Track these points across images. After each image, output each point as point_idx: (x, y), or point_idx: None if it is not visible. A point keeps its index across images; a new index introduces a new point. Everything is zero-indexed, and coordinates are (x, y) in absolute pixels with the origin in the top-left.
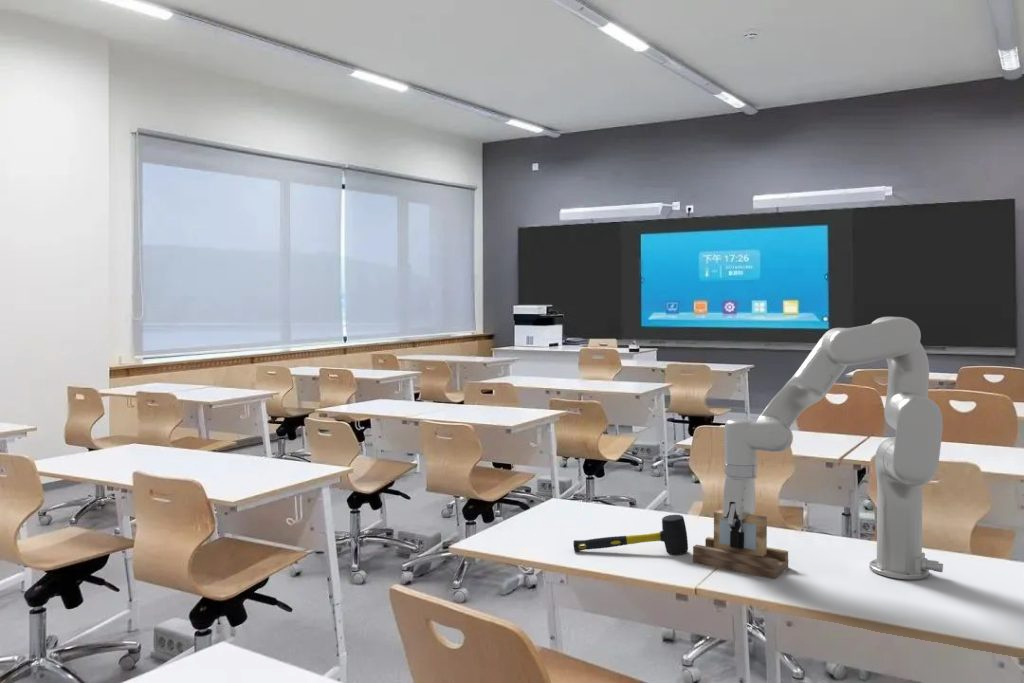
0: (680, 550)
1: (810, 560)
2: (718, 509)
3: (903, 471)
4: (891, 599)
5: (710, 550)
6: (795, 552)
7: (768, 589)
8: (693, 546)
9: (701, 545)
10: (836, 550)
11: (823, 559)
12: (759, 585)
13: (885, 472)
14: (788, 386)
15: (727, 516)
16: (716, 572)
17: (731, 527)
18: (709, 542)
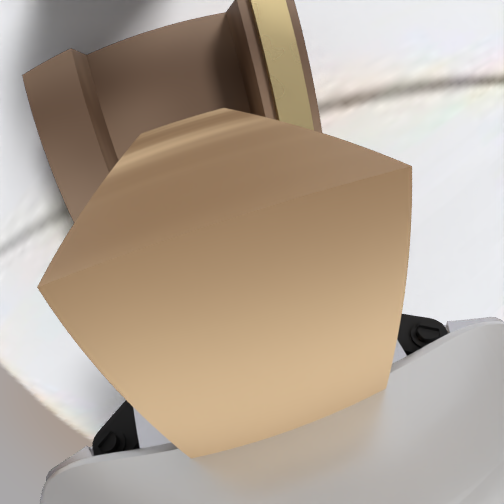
0: None
1: (408, 310)
2: (405, 165)
3: None
4: None
5: (59, 185)
6: (451, 248)
7: (109, 400)
8: (24, 75)
9: (80, 80)
10: (481, 286)
11: (425, 317)
12: (106, 380)
13: None
14: None
15: (171, 443)
16: (53, 238)
17: (112, 427)
18: (238, 28)
